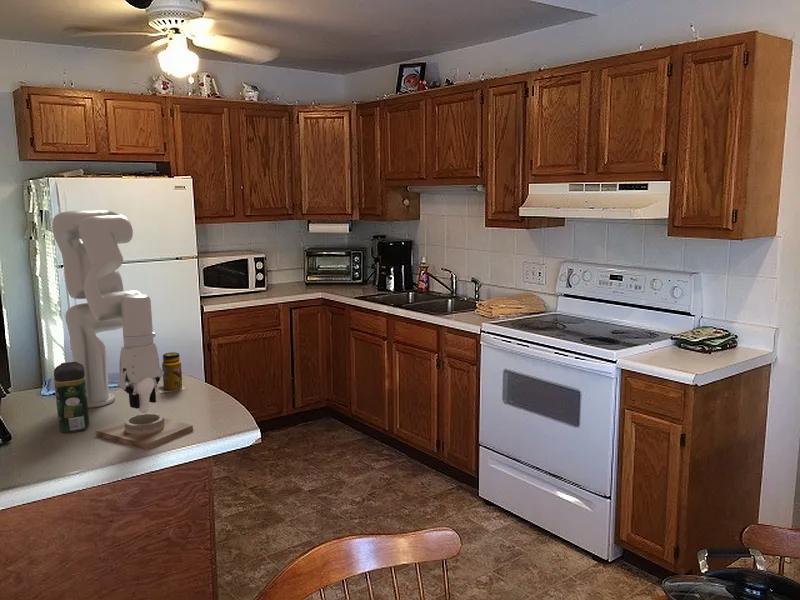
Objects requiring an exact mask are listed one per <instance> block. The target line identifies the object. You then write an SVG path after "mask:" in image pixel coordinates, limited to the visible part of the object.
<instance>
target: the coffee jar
mask: <svg viewBox="0 0 800 600" xmlns="http://www.w3.org/2000/svg"><path fill="white" fill-rule="evenodd" d="M53 381H54V392H55V393H54V394H55V402H56V411H57V419H58V428H59V430H60V432H62V433H76V432H78V433H79V432H80V431H83V430H86V429H88V428H89V425H90V414H89V412H90V411H89V408H88V402H87V391H86V380H85V371H84V366H83V365H82V364H80V363H77V362H73V361H68V362H60V364H58V366H56V367H55V368H54V370H53Z"/></svg>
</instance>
